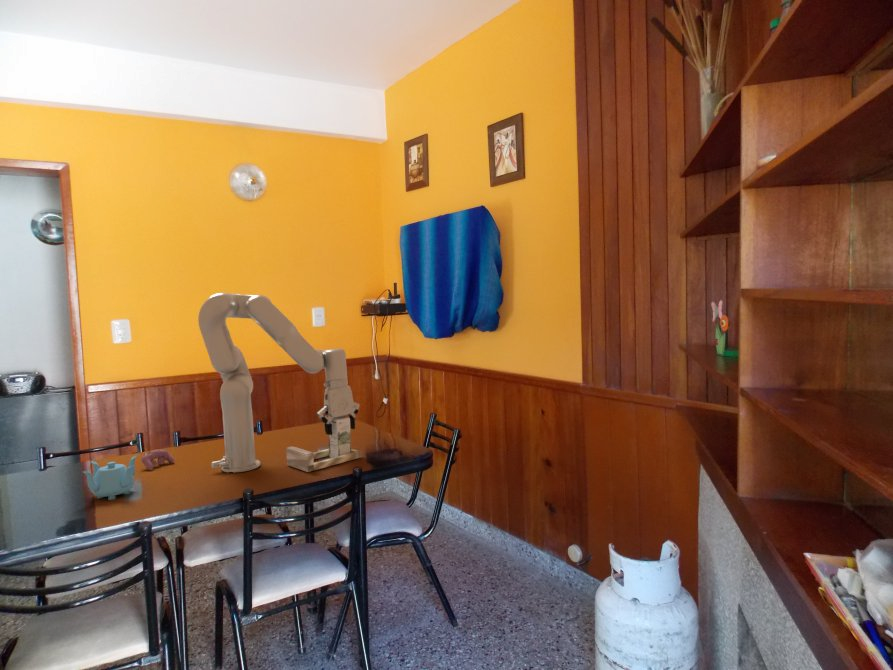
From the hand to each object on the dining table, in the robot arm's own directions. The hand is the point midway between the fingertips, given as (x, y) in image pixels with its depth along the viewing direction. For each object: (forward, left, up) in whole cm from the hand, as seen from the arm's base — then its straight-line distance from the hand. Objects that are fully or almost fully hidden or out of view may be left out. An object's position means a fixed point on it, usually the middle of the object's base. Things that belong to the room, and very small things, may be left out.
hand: (340, 431), depth 203 cm
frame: (-7, 0, -9) cm, 12 cm away
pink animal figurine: (-47, +45, -10) cm, 65 cm away
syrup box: (0, 0, -10) cm, 10 cm away
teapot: (-67, +22, -10) cm, 71 cm away
